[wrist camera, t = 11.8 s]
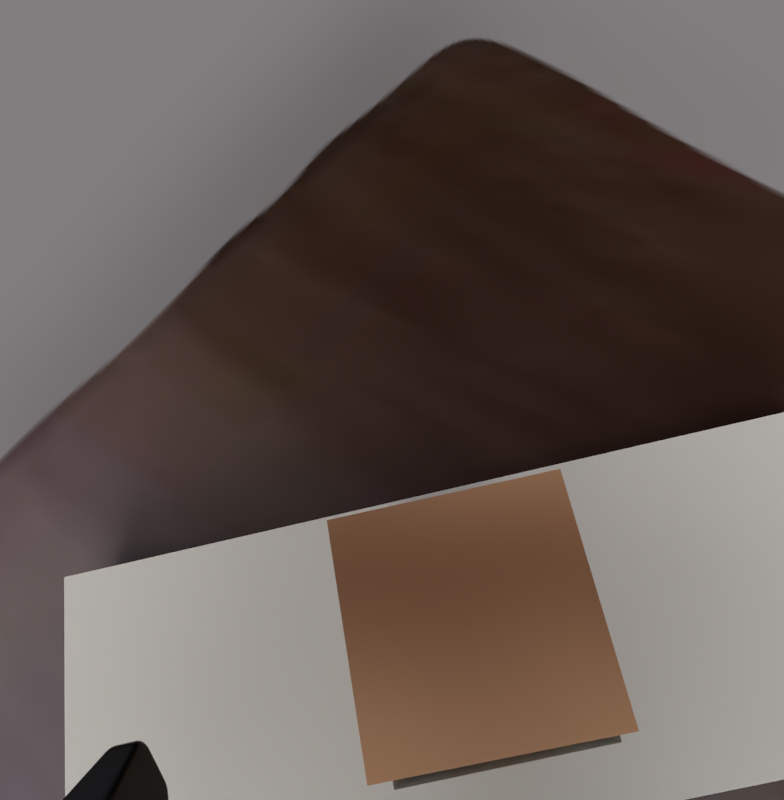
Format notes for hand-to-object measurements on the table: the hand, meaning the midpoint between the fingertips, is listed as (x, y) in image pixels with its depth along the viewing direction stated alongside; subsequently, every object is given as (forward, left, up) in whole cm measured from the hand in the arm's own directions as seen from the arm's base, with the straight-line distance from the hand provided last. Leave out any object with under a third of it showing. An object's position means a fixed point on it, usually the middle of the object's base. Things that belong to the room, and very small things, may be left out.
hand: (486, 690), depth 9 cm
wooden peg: (0, +1, -14) cm, 14 cm away
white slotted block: (0, +1, -14) cm, 14 cm away
